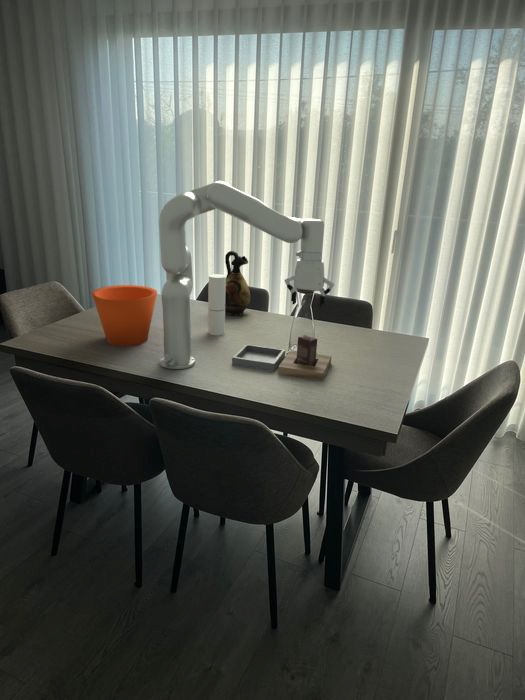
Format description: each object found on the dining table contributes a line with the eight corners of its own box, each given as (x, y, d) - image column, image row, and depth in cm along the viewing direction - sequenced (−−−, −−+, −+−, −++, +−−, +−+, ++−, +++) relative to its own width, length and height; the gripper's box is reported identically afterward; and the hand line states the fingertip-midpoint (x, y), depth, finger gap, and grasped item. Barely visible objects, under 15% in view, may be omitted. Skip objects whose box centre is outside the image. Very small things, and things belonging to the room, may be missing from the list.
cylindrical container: (225, 330, 226) (227, 274, 217) (223, 335, 219) (224, 278, 211) (209, 329, 226) (210, 273, 218) (206, 334, 220) (207, 277, 211)
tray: (274, 371, 184) (274, 363, 183) (232, 365, 188) (232, 357, 187) (284, 356, 199) (285, 349, 198) (245, 351, 203) (245, 344, 202)
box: (315, 369, 188) (318, 338, 183) (307, 372, 184) (310, 341, 180) (302, 364, 191) (305, 334, 187) (294, 367, 188) (297, 336, 184)
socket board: (322, 381, 178) (323, 373, 177) (277, 374, 182) (278, 366, 181) (330, 363, 194) (331, 356, 193) (289, 357, 198) (290, 350, 197)
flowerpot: (111, 354, 193) (108, 303, 186) (85, 336, 211) (81, 289, 204) (169, 342, 208) (168, 295, 201) (141, 326, 226) (139, 282, 219)
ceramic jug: (255, 312, 256) (258, 252, 245) (238, 319, 243) (240, 256, 233) (228, 306, 264) (229, 247, 254) (209, 312, 252) (210, 251, 241)
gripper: (283, 256, 174) (281, 304, 180) (334, 260, 170) (330, 310, 175) (288, 252, 181) (286, 299, 186) (337, 256, 176) (333, 304, 182)
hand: (307, 304), depth 181 cm, fingers open, 9 cm apart
